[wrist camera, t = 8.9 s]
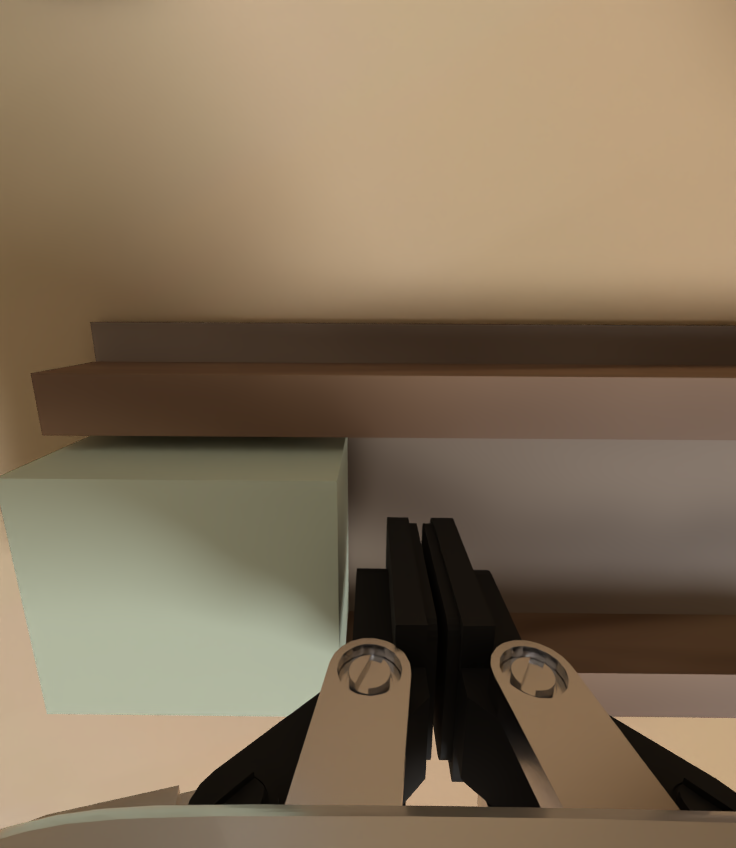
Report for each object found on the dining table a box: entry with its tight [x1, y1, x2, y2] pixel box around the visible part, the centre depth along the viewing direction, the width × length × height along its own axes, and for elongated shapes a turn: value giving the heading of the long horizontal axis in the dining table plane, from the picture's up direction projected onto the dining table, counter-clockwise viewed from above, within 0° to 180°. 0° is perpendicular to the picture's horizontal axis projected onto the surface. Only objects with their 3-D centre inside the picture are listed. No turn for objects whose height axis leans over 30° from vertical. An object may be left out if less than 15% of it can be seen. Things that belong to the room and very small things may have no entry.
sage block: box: [0, 436, 349, 717], centre depth 12 cm, size 6×7×4 cm
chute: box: [31, 322, 736, 718], centre depth 13 cm, size 12×22×3 cm, turn 90°
